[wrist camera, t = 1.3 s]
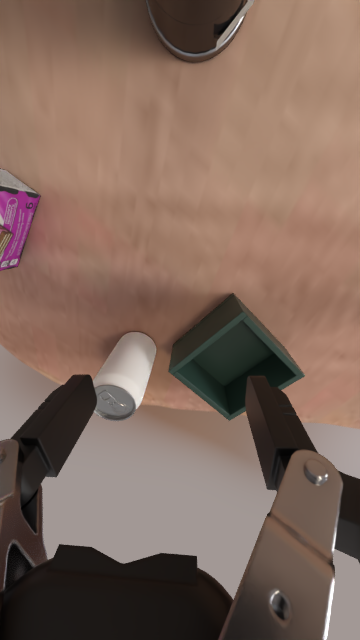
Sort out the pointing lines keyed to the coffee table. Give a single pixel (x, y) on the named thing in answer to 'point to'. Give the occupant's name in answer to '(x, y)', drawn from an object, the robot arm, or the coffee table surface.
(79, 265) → the coffee table surface
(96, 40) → the coffee table surface
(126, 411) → the can
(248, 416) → the robot arm
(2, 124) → the coffee table surface
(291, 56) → the coffee table surface
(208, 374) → the bin
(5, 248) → the candy bar box
